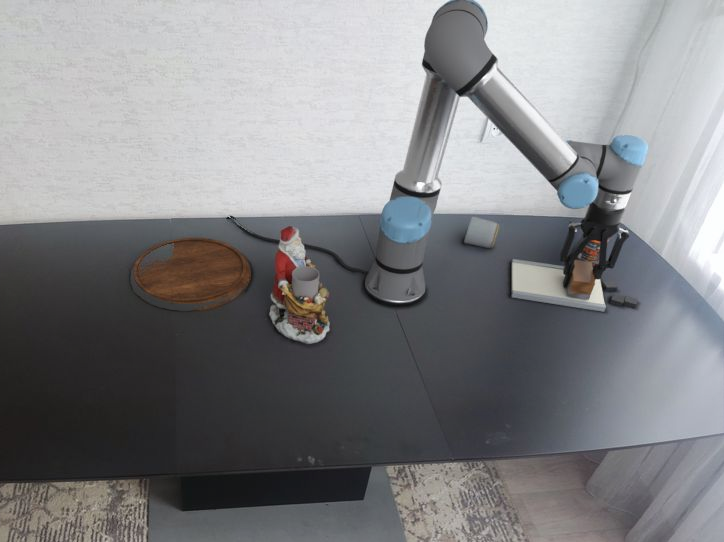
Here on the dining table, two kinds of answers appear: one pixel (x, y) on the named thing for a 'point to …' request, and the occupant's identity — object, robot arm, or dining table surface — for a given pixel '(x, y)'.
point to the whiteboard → (549, 286)
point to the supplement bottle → (591, 252)
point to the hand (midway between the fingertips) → (576, 286)
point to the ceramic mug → (481, 232)
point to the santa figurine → (297, 292)
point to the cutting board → (195, 272)
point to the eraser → (581, 280)
